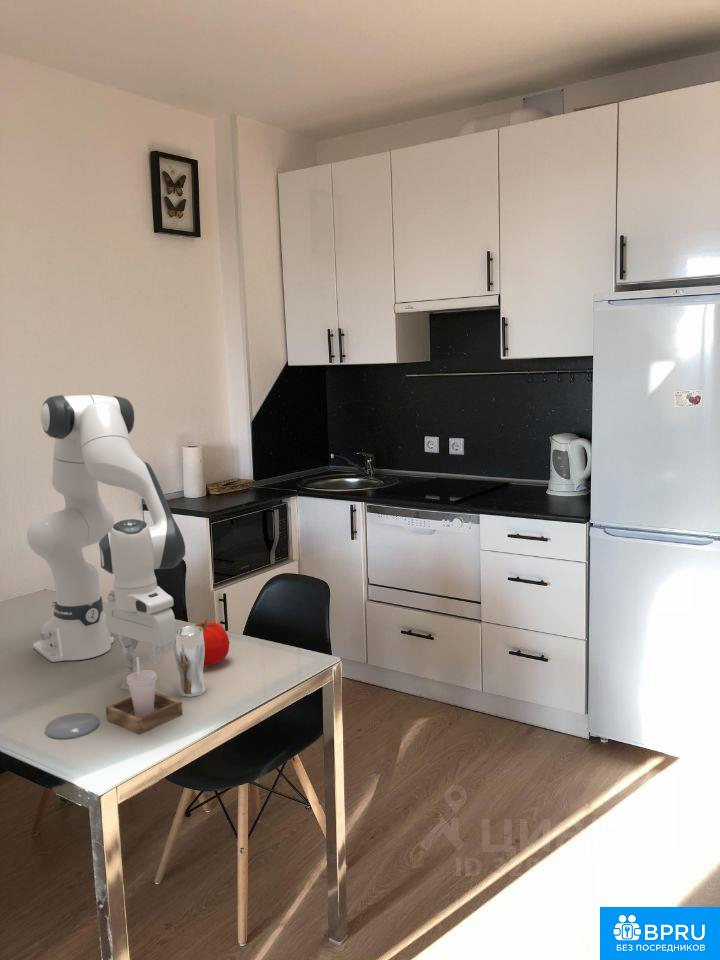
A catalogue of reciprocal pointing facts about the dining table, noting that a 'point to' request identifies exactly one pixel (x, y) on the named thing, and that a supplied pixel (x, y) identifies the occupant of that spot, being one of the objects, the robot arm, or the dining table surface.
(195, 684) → the beer glass
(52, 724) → the disc
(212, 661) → the tomato
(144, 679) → the smoothie
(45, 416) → the robot arm
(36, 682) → the dining table surface
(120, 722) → the wooden serving tray
